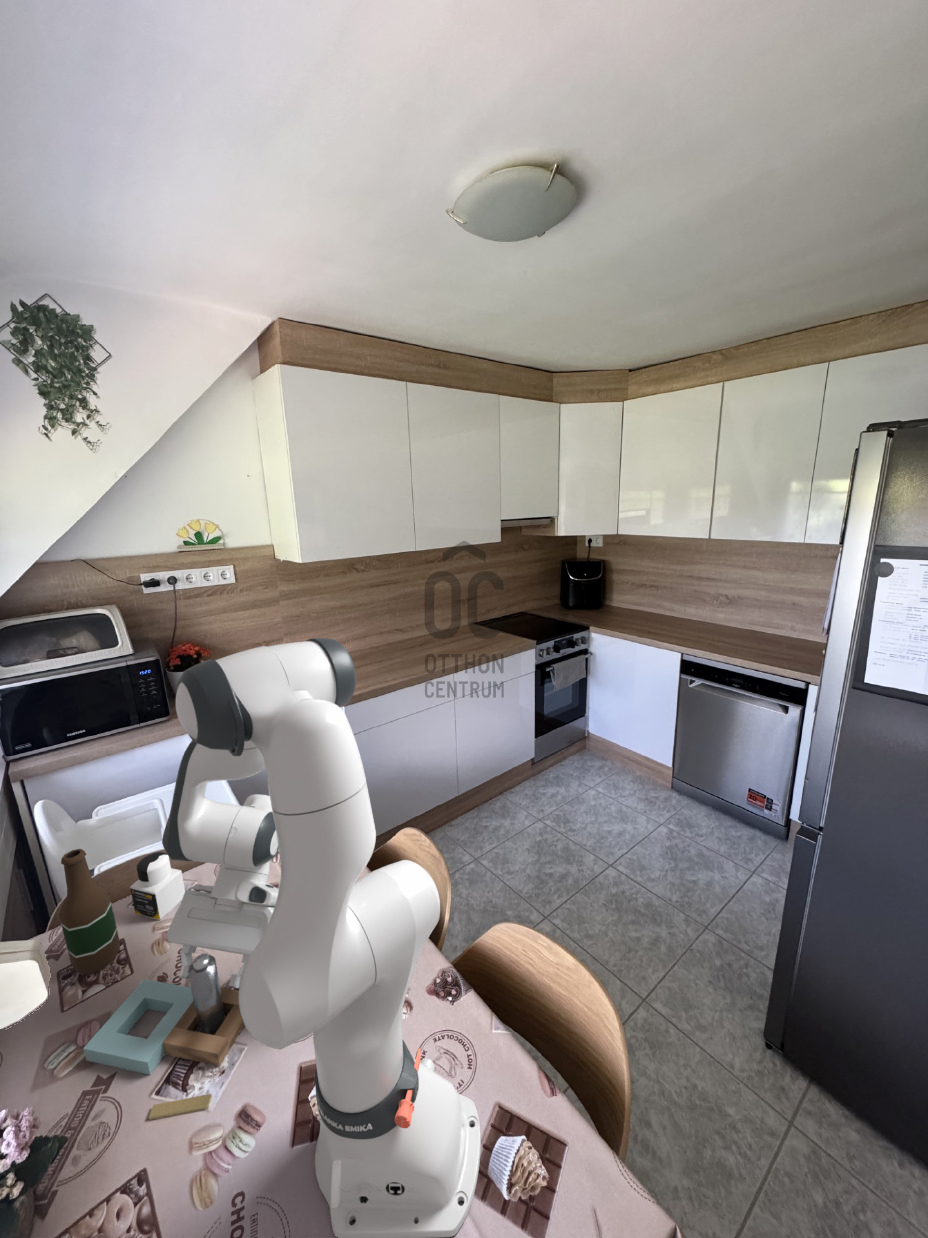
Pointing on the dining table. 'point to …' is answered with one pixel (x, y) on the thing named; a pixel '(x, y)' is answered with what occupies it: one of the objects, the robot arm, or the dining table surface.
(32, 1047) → the dining table surface
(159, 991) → the block
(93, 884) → the beer bottle
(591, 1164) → the dining table surface
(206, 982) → the silver metal cylinder
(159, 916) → the medicine bottle
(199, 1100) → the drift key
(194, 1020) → the socket block
